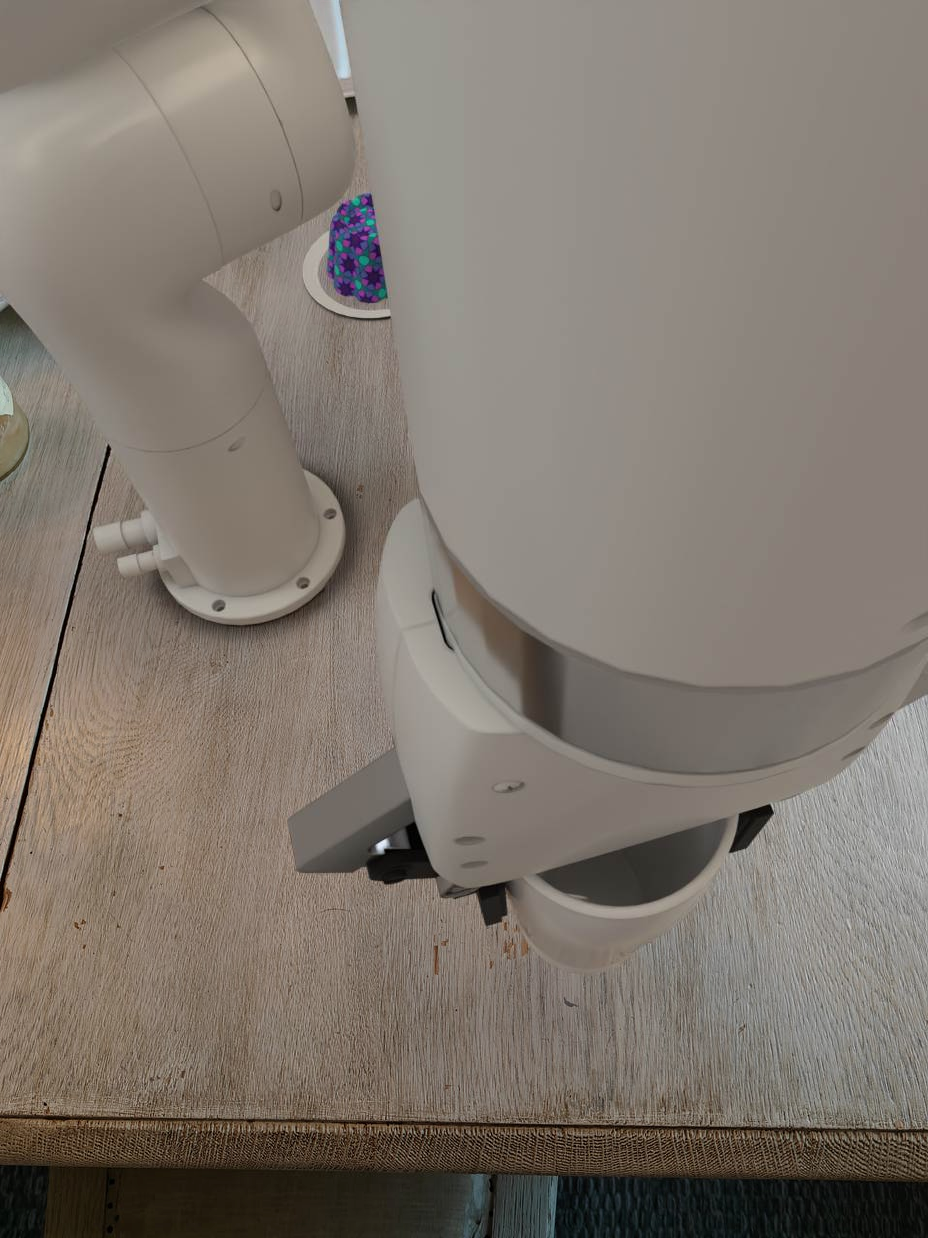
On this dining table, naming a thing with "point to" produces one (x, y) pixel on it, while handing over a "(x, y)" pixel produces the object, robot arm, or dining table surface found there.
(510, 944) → the dining table surface
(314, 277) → the pudding
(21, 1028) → the dining table surface
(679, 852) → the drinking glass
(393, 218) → the robot arm
